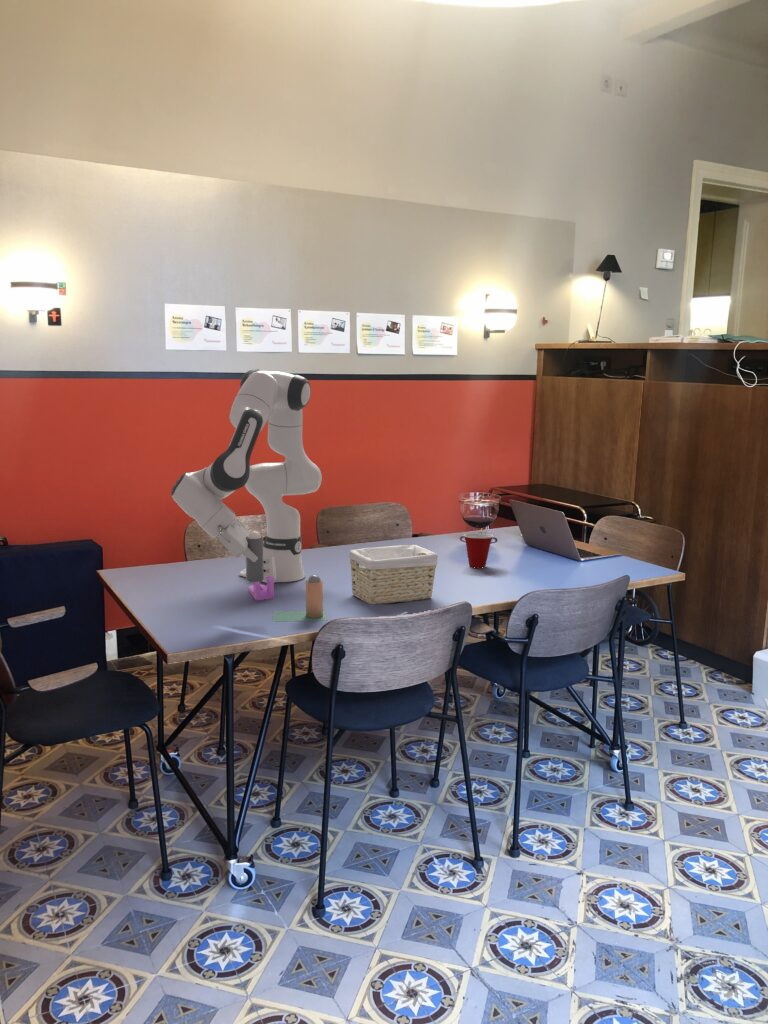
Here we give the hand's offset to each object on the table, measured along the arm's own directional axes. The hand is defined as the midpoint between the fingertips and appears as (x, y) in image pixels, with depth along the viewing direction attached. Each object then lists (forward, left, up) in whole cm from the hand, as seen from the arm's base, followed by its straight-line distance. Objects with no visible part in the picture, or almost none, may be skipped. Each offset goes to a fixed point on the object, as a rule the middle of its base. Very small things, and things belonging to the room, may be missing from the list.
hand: (257, 557), depth 218 cm
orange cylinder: (+13, +9, -17) cm, 23 cm away
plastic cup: (+31, +89, -18) cm, 96 cm away
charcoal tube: (-1, 0, -6) cm, 6 cm away
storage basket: (+22, +39, -18) cm, 49 cm away
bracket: (-15, +21, -18) cm, 32 cm away
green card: (+10, +7, -18) cm, 22 cm away
